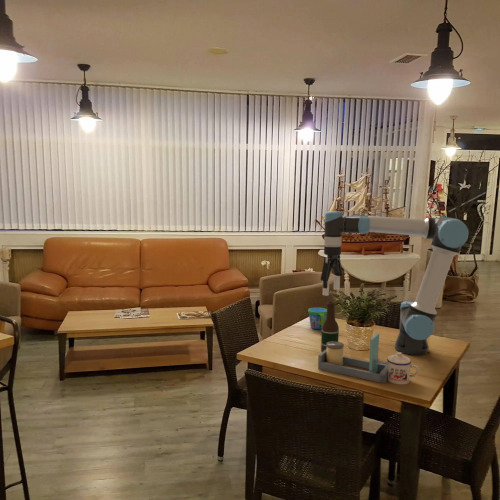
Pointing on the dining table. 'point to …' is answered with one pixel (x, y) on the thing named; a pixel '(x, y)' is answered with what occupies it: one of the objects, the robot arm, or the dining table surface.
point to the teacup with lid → (399, 369)
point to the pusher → (374, 354)
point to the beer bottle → (329, 327)
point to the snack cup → (317, 317)
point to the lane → (351, 371)
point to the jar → (334, 353)
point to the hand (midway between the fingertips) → (331, 292)
